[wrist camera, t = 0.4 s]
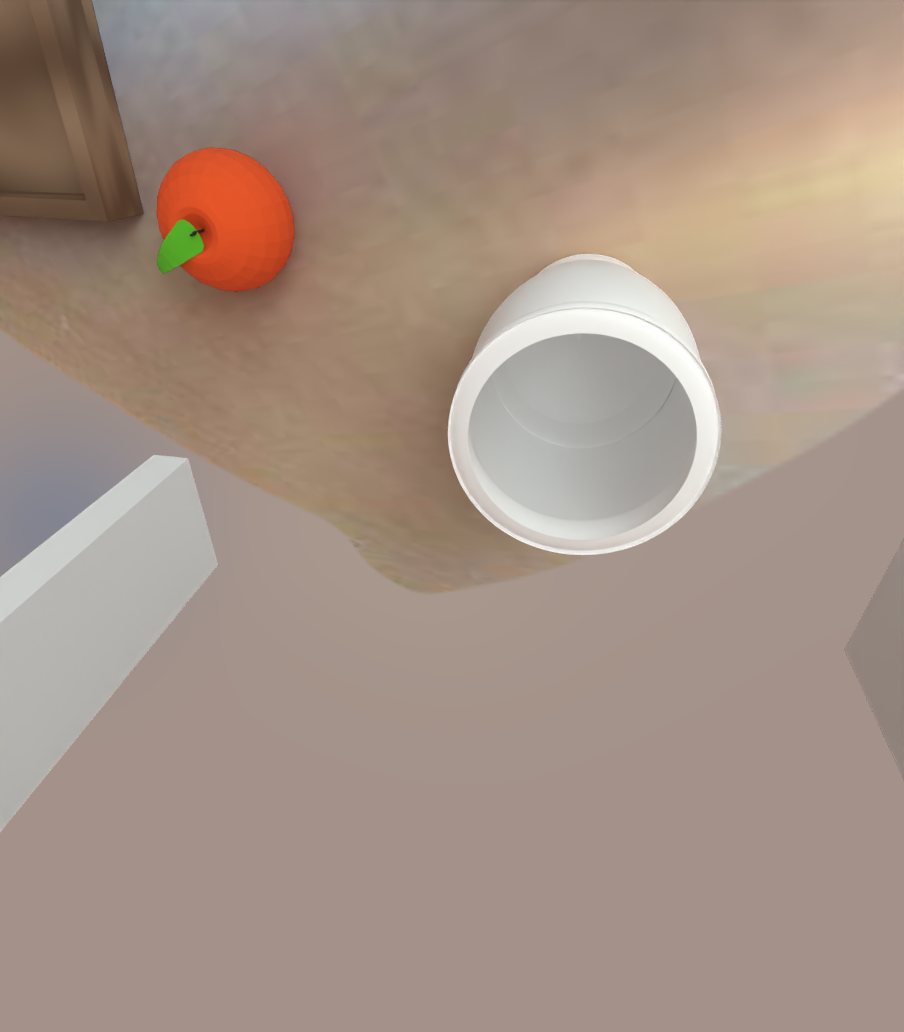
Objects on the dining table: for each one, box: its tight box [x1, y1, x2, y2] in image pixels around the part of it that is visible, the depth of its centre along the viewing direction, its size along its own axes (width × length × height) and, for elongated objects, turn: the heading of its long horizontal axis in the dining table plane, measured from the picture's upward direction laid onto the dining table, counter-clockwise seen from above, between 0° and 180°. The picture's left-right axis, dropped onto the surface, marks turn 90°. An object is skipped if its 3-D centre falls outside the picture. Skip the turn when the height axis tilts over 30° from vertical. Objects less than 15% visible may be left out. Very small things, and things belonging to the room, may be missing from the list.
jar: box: [448, 254, 721, 555], centre depth 29 cm, size 11×10×15 cm
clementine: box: [157, 147, 294, 292], centre depth 32 cm, size 8×7×7 cm
